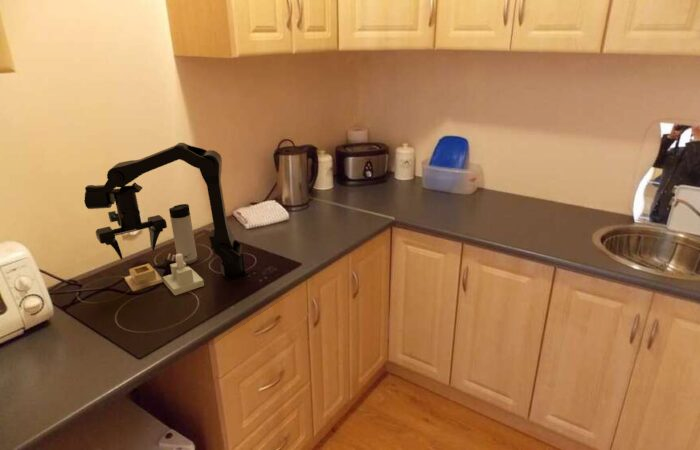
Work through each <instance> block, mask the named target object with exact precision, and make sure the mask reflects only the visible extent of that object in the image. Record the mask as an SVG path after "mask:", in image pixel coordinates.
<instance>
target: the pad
mask: <svg viewBox="0 0 700 450" xmlns="http://www.w3.org/2000/svg"><path fill="white" fill-rule="evenodd" d="M155 274H156V279H154V280H151V281H148V282H144V283H141V284H138V285H136V284H135V282H134V281H133V280H132V278H131V276H130V275H128V276H125V277H123V278H124V280H125V282H126V283H127V285H128V287H129V288H130V289H131V291H132V292H136V291H139V290H142V289H146V288H148V287H152V286H154V285H158V284H161V283H164V281H163V277H162V276H160V274H159V272H157V270H155Z"/></svg>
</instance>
